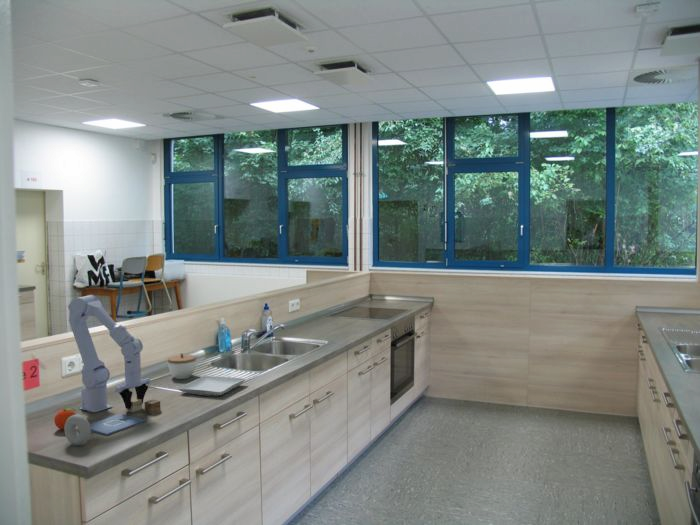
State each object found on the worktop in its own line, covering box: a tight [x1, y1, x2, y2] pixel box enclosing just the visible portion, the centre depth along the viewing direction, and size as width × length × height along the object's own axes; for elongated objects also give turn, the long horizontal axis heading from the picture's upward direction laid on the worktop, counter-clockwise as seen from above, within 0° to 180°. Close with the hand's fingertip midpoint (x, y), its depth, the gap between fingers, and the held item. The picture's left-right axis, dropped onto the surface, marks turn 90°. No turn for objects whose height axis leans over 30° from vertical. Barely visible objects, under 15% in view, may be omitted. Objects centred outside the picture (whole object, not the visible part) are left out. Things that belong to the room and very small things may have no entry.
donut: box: [63, 413, 92, 446], centre depth 186 cm, size 10×4×10 cm, turn 67°
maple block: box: [125, 397, 143, 413], centre depth 222 cm, size 4×4×4 cm
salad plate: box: [177, 375, 246, 397], centre depth 248 cm, size 21×21×3 cm
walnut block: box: [143, 399, 161, 415], centre depth 219 cm, size 4×4×4 cm
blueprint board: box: [89, 413, 147, 437], centre depth 205 cm, size 14×16×1 cm
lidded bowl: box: [167, 353, 197, 380], centre depth 270 cm, size 13×13×11 cm
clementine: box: [54, 407, 77, 431], centre depth 202 cm, size 8×7×7 cm
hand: (134, 406), depth 222 cm, fingers open, 5 cm apart
